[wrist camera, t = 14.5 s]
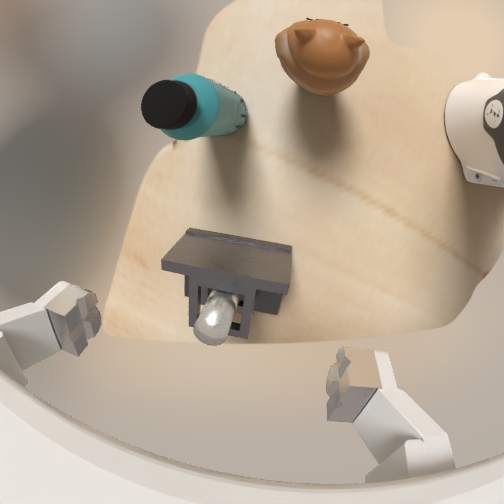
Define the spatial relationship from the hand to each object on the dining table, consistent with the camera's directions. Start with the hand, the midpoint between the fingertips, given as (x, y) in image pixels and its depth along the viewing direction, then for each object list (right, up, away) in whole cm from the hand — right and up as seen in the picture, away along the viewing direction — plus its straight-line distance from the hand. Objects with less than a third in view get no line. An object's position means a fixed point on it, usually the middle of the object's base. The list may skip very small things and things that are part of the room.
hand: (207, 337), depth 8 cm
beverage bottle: (-2, +22, +27) cm, 35 cm away
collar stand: (-1, 0, +37) cm, 37 cm away
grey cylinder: (-1, -1, +36) cm, 36 cm away
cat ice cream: (+10, +26, +23) cm, 36 cm away
